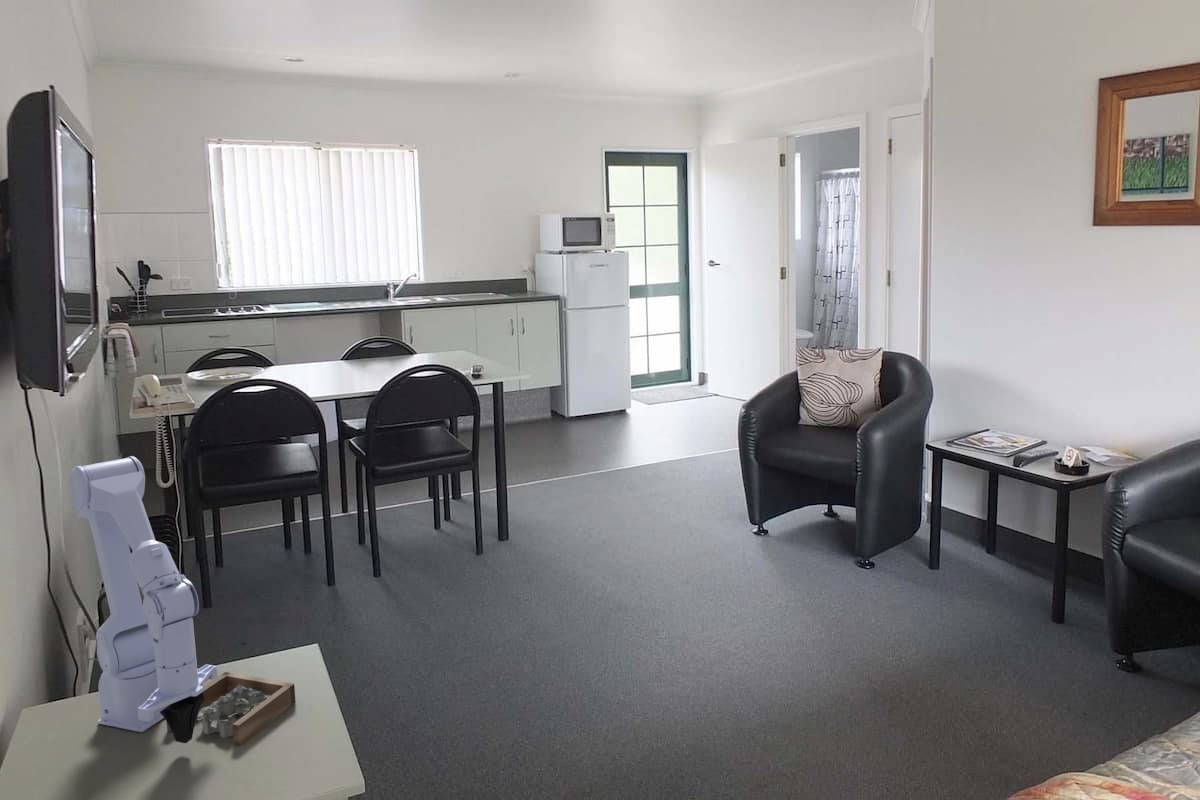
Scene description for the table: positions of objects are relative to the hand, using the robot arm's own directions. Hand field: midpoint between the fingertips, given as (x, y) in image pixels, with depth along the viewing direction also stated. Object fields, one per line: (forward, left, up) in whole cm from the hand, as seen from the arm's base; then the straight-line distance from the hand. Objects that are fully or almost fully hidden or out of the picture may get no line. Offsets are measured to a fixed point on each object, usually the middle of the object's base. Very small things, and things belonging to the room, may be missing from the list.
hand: (183, 740), depth 144 cm
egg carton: (+1, +10, -2) cm, 11 cm away
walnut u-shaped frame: (0, +11, -2) cm, 11 cm away
